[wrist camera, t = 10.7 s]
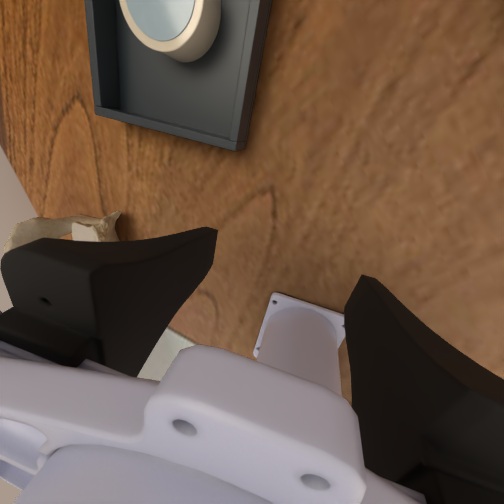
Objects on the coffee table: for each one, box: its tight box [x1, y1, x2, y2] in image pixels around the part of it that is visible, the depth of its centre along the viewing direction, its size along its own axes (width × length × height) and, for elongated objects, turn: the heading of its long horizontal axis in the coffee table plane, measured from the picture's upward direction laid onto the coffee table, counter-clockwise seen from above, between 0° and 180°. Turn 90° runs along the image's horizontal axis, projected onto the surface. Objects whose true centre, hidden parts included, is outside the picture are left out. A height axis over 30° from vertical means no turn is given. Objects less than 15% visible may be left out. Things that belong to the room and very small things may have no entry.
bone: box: [4, 210, 121, 254], centre depth 23 cm, size 9×6×10 cm
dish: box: [119, 0, 221, 62], centre depth 14 cm, size 5×5×3 cm
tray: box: [84, 0, 272, 151], centre depth 15 cm, size 14×11×2 cm
